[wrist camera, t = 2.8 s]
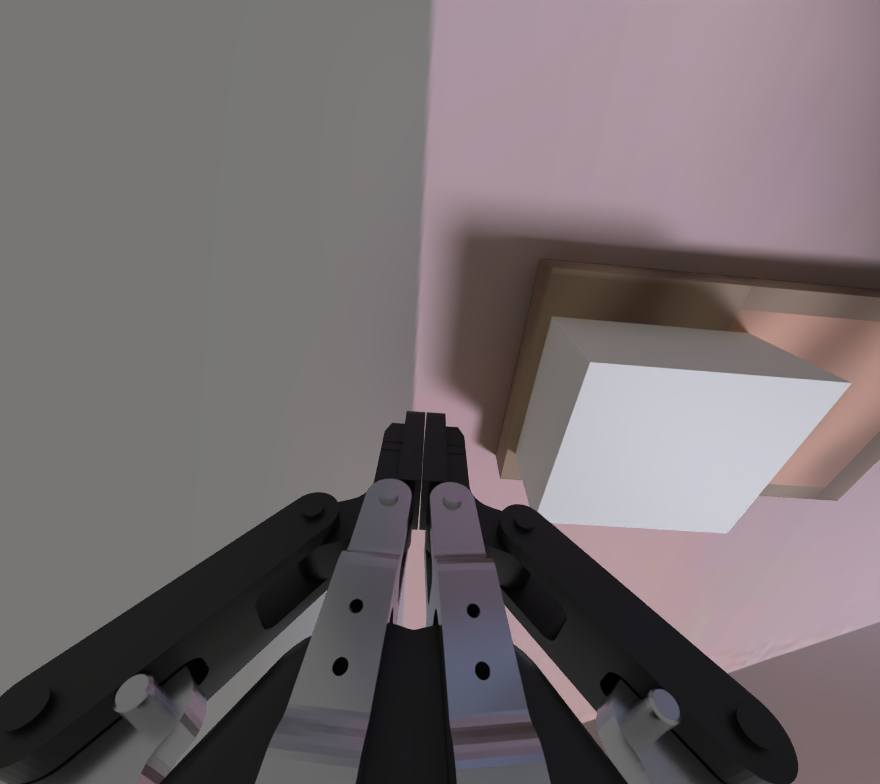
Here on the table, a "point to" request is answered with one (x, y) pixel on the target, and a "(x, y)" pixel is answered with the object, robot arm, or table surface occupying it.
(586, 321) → the carton
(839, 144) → the table surface
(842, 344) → the podium
